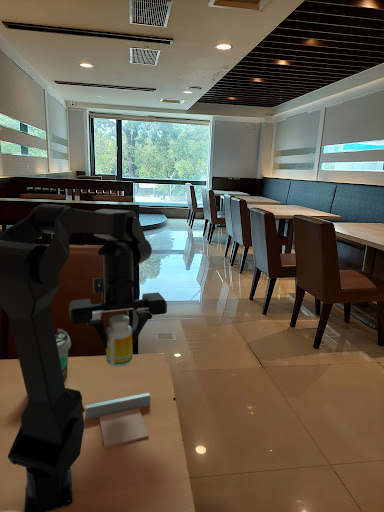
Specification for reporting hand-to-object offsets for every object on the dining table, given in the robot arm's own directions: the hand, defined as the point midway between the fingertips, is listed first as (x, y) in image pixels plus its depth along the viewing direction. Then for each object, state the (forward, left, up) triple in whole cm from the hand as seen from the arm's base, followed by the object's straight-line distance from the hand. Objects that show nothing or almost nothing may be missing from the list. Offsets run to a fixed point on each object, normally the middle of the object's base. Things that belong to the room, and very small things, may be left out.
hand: (119, 345), depth 71 cm
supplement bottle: (0, 0, -4) cm, 4 cm away
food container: (+11, +13, -13) cm, 22 cm away
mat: (-9, +1, -13) cm, 15 cm away
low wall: (-4, +1, -13) cm, 13 cm away
